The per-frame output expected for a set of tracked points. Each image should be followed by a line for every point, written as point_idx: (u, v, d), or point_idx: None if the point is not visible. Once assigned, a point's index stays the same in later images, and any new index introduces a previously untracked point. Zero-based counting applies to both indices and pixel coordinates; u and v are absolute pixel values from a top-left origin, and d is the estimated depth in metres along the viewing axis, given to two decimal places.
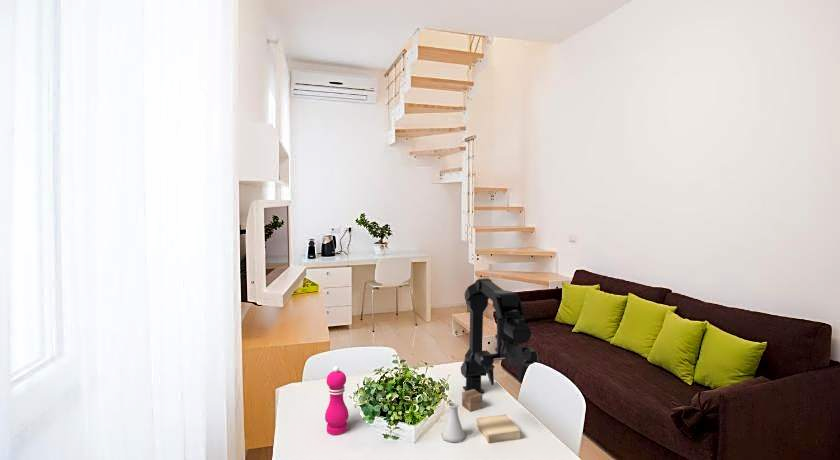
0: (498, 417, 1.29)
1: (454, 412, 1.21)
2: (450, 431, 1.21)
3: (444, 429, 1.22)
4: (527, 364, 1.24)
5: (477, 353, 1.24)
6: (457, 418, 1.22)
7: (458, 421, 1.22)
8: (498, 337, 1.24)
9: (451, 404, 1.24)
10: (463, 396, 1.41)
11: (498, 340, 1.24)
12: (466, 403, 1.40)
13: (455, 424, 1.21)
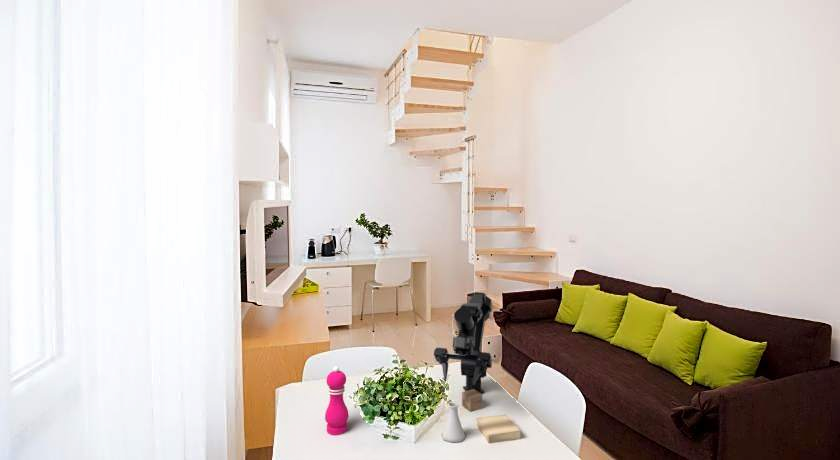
0: (498, 417, 1.29)
1: (454, 412, 1.21)
2: (450, 431, 1.21)
3: (444, 429, 1.22)
4: (478, 362, 1.30)
5: None
6: (457, 418, 1.22)
7: (458, 421, 1.22)
8: None
9: (451, 404, 1.24)
10: (463, 396, 1.41)
11: None
12: (466, 403, 1.40)
13: (455, 424, 1.21)
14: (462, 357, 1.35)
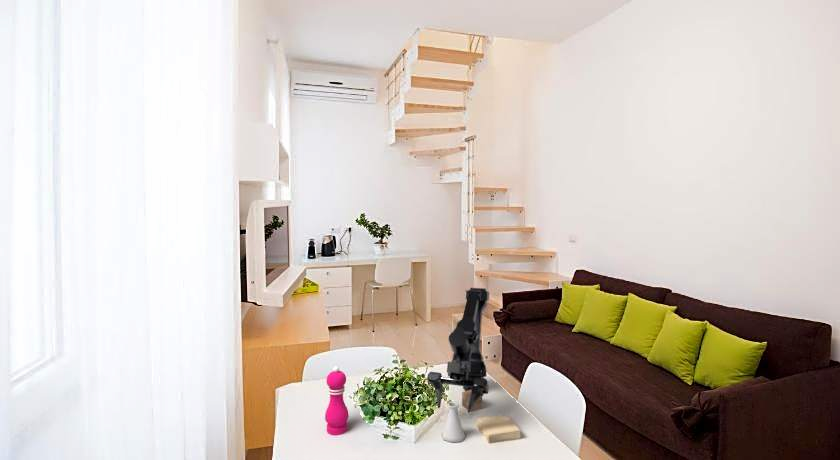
0: (498, 417, 1.29)
1: (454, 412, 1.21)
2: (450, 431, 1.21)
3: (444, 429, 1.22)
4: (474, 388, 1.23)
5: None
6: (457, 418, 1.22)
7: (458, 421, 1.22)
8: None
9: (451, 404, 1.24)
10: (463, 396, 1.41)
11: None
12: (466, 403, 1.40)
13: (455, 424, 1.21)
14: (457, 382, 1.28)
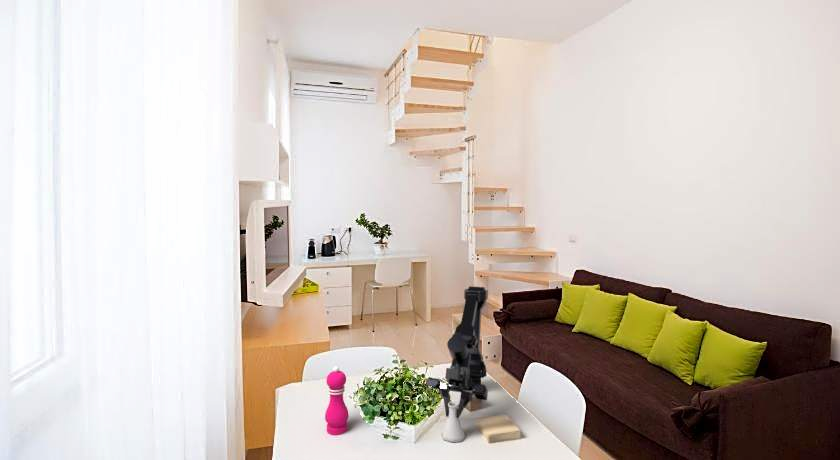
0: (498, 417, 1.29)
1: (454, 412, 1.21)
2: (450, 431, 1.21)
3: (444, 429, 1.22)
4: (463, 393, 1.23)
5: None
6: (457, 418, 1.22)
7: (458, 421, 1.22)
8: None
9: (451, 404, 1.24)
10: None
11: None
12: None
13: (455, 423, 1.21)
14: (456, 388, 1.26)
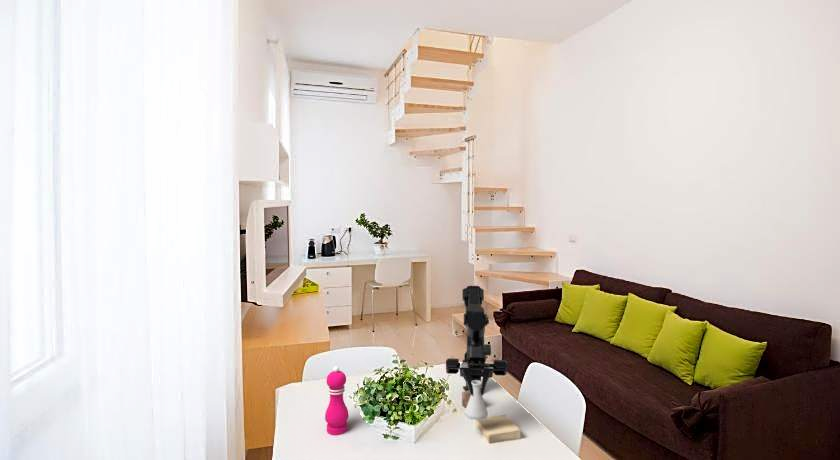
0: (498, 417, 1.29)
1: (478, 390, 1.22)
2: (475, 409, 1.21)
3: (468, 408, 1.22)
4: (485, 370, 1.24)
5: None
6: (481, 395, 1.22)
7: (482, 398, 1.22)
8: (467, 347, 1.31)
9: (474, 382, 1.24)
10: (463, 396, 1.41)
11: (467, 350, 1.31)
12: (466, 403, 1.40)
13: (480, 401, 1.21)
14: (476, 367, 1.27)
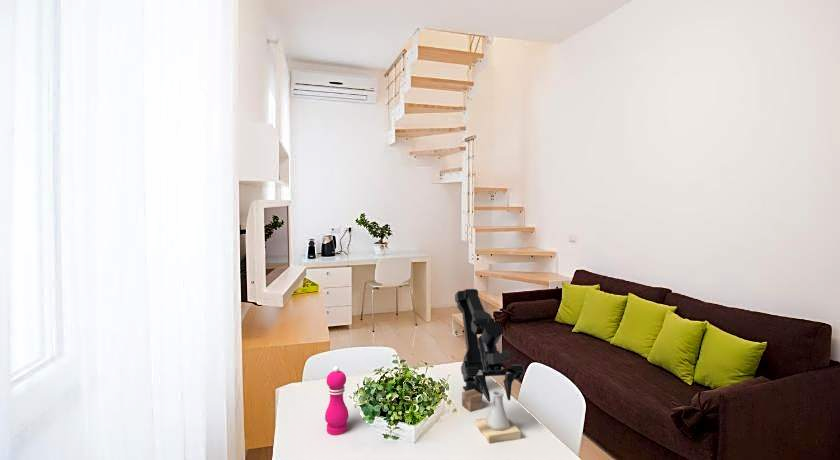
0: None
1: (501, 400, 1.24)
2: (499, 419, 1.23)
3: (491, 419, 1.24)
4: (510, 375, 1.26)
5: (464, 372, 1.30)
6: (503, 406, 1.25)
7: None
8: (481, 354, 1.33)
9: (494, 393, 1.26)
10: (463, 396, 1.41)
11: (482, 357, 1.32)
12: (466, 403, 1.40)
13: (503, 411, 1.24)
14: (493, 373, 1.29)
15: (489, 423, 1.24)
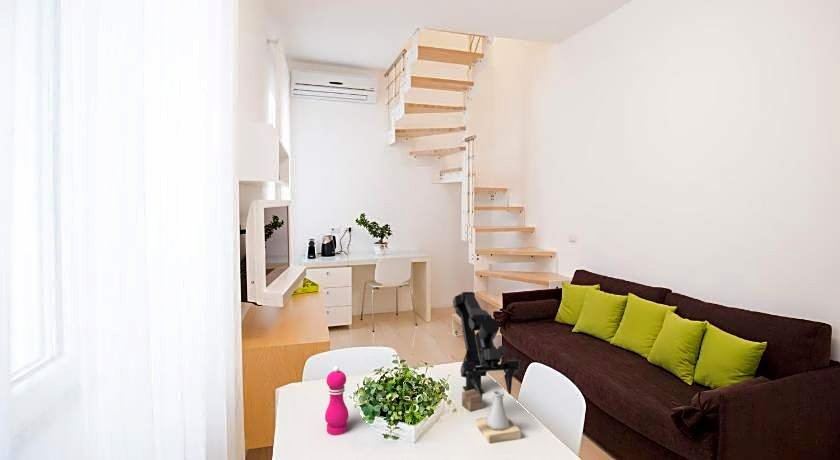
0: None
1: (501, 400, 1.24)
2: (499, 419, 1.22)
3: (491, 419, 1.23)
4: (510, 370, 1.30)
5: (461, 367, 1.33)
6: None
7: None
8: (478, 350, 1.36)
9: (495, 393, 1.25)
10: (463, 396, 1.41)
11: (479, 352, 1.36)
12: (466, 403, 1.40)
13: (502, 411, 1.23)
14: (490, 368, 1.32)
15: (488, 422, 1.24)
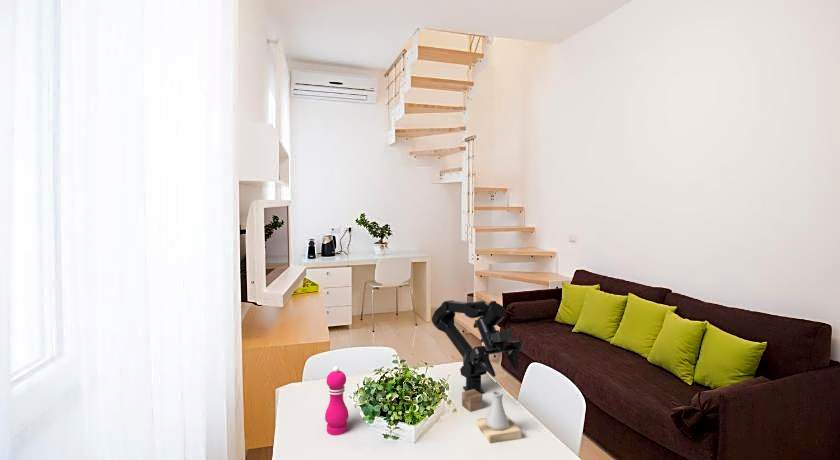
0: None
1: (500, 400, 1.24)
2: (499, 419, 1.23)
3: (491, 419, 1.23)
4: (516, 350, 1.40)
5: (471, 352, 1.39)
6: (502, 405, 1.25)
7: (503, 408, 1.25)
8: (483, 335, 1.43)
9: (494, 393, 1.26)
10: (463, 396, 1.41)
11: (484, 337, 1.43)
12: (466, 403, 1.40)
13: (502, 411, 1.23)
14: (496, 350, 1.40)
15: (489, 423, 1.24)
